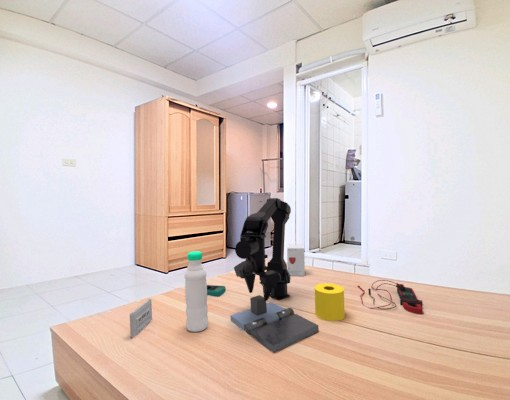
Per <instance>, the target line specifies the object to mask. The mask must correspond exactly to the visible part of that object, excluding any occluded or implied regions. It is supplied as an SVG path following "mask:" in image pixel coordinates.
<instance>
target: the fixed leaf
mask: <svg viewBox="0 0 510 400" xmlns="http://www.w3.org/2000/svg"><path fill="white" fill-rule="evenodd" d="M276 314H277V315H278V316H279V321H277V322H274V323H271V324H269V325H267V323H266V320H265V319H264V318H260V319H257V320H255V321H252V322H249V323H247V324H246V326H245V327H246V330H245V331H246V333H247V334H248V335H250V336H251V337H252V338H253V339H255V341H257V342H258V343H260V344H261V345H263V346H264V347H265V348H267V350H269V351H270V352H272V353H274V354H275V353H277V352H279V351H280V350H284V349H286V348H287V347H289V346H291V345H293V344H296V343H298V342H300V341H302V340H304V339H306V338H308V337H310V336H312V335H314V334H316V333H319V332H320V330H319V324H317V323H315V322H313V321H311V320H309V319H307V318H305V317H303V316H302V315H299V314H297V313H295V311H294V309H293V308H292V307H288V308H285V310H282V311H279V312H277V313H276Z"/></svg>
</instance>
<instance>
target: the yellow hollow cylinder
mask: <svg viewBox="0 0 510 400" xmlns="http://www.w3.org/2000/svg"><path fill="white" fill-rule="evenodd" d="M314 314H315V316H316V317H317V318H319V319H320V320H323V321H327V322H338V321H342V320H343V319H345V316H346V315H345V289H344V287H343V286H342V285H340V284H335V283H328V282H327V283H326V282H325V283H320V284H319V283H318V284H316V285H315V286H314Z"/></svg>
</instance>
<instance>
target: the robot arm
mask: <svg viewBox="0 0 510 400" xmlns="http://www.w3.org/2000/svg"><path fill="white" fill-rule="evenodd" d="M291 212H292V209H291V206H290V205H289V203H288V202H286V201H284V200H281V198H278V197H270V198H269V197H268V198H267V199H266V202H265V203H264V204H263V205H262V207H261V208H260V209H259V210H258V211H257V212H256V213H252V214H249V216H247V217H246V218H245V220H244V223H243V226H242V229H241V232H240V238H239V239H240V240H239V241H238V242H237V243H236V244H235V247H234V252H235V254H236V256H237V257H238V258H239V259H241V260H243V261H241V262H239V263H238V264H236V265H235V266H234V267H233V271H234V273H235V275H236V278H237V277H239V278H240V279H243V280H244V282H245V284H246V287H247V290H248V292H249V293H250V294H252V293H253V291H254V288H255V287H254V286H255V280H256V276H259V277H258V278H259V281H260V282H259V284H260V286H262V292H263V297H264V300H265V301H266V302H267V301H268V300H269V299H270V297H272V298H274V299H275V300H277V301H278V300H279V301H280V300H283V299H285V298H289V297H290V296H291V294H289V293H288V284H291V276H290V274H289V272H288V266H287V262H286V260H285V259H284V254H285V251H284V250H285V238H286V237H285V234H286V224H287V222H288V221H289V219H290V215H291ZM270 219H271V220H272V222H273V237H272V238H273V239H272V241H273V242H272V252H271V253H272V255H271V258H270V260H269V261H268V262H267V264H266V259H268V258H269V257H268V254H266V244H265V242H266V241H265V238H266V237H267V235H266V233H267V230H268V228H269V220H270Z"/></svg>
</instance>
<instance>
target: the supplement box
mask: <svg viewBox="0 0 510 400" xmlns="http://www.w3.org/2000/svg"><path fill="white" fill-rule="evenodd" d="M286 249H287V251H286V252H287V253H286V254H287V257H286V260H287V262H286V264H287V270H288V272H289V274H290V277H305V276H306V275H305V273H306V272H305V264H306V263H305V245H304V244H287V248H286Z"/></svg>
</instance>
